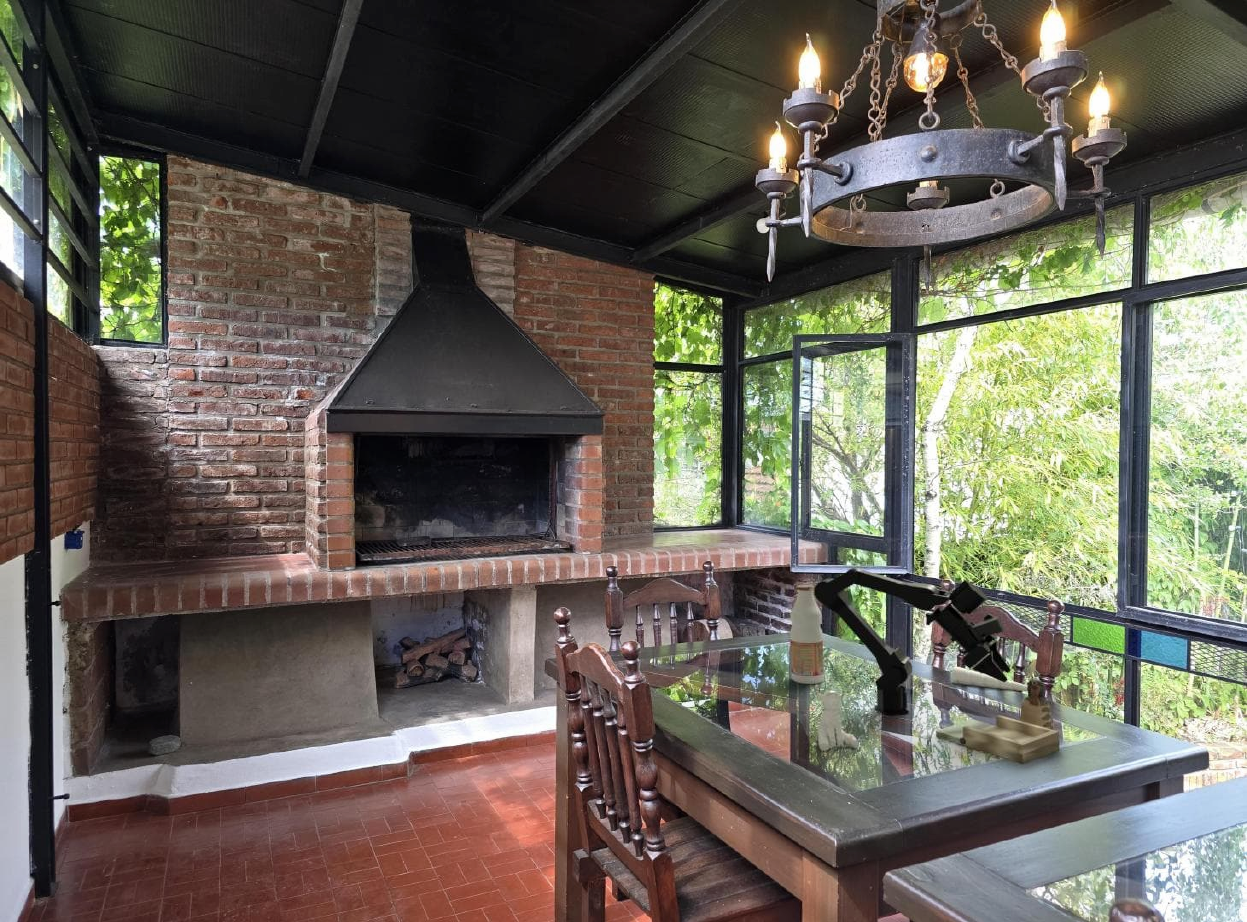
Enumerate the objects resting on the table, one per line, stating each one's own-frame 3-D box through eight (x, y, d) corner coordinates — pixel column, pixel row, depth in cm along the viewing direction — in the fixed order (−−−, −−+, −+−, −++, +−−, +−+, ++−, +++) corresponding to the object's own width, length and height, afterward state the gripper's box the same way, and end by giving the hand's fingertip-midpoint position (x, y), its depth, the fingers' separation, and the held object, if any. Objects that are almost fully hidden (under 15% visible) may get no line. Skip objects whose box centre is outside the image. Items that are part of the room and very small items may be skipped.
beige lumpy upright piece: (821, 752, 174) (819, 698, 174) (804, 739, 183) (803, 687, 183) (860, 748, 176) (858, 695, 176) (842, 735, 184) (840, 684, 184)
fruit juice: (799, 685, 226) (797, 589, 226) (786, 677, 235) (783, 584, 235) (829, 683, 228) (827, 587, 228) (815, 674, 237) (812, 582, 237)
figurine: (1058, 729, 184) (1056, 678, 185) (1049, 737, 179) (1048, 685, 179) (1025, 723, 189) (1024, 673, 189) (1016, 731, 184) (1014, 680, 184)
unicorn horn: (1043, 697, 210) (1042, 679, 210) (950, 685, 224) (949, 668, 224) (1045, 693, 214) (1045, 675, 214) (954, 681, 228) (953, 664, 228)
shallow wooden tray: (935, 736, 182) (935, 719, 182) (972, 724, 190) (972, 707, 190) (1022, 764, 164) (1022, 745, 164) (1059, 749, 172) (1059, 731, 172)
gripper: (976, 611, 182) (1031, 664, 176) (985, 599, 198) (1035, 646, 193) (941, 642, 186) (994, 694, 180) (953, 627, 202) (1001, 674, 196)
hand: (1007, 676), depth 187 cm, fingers open, 9 cm apart
